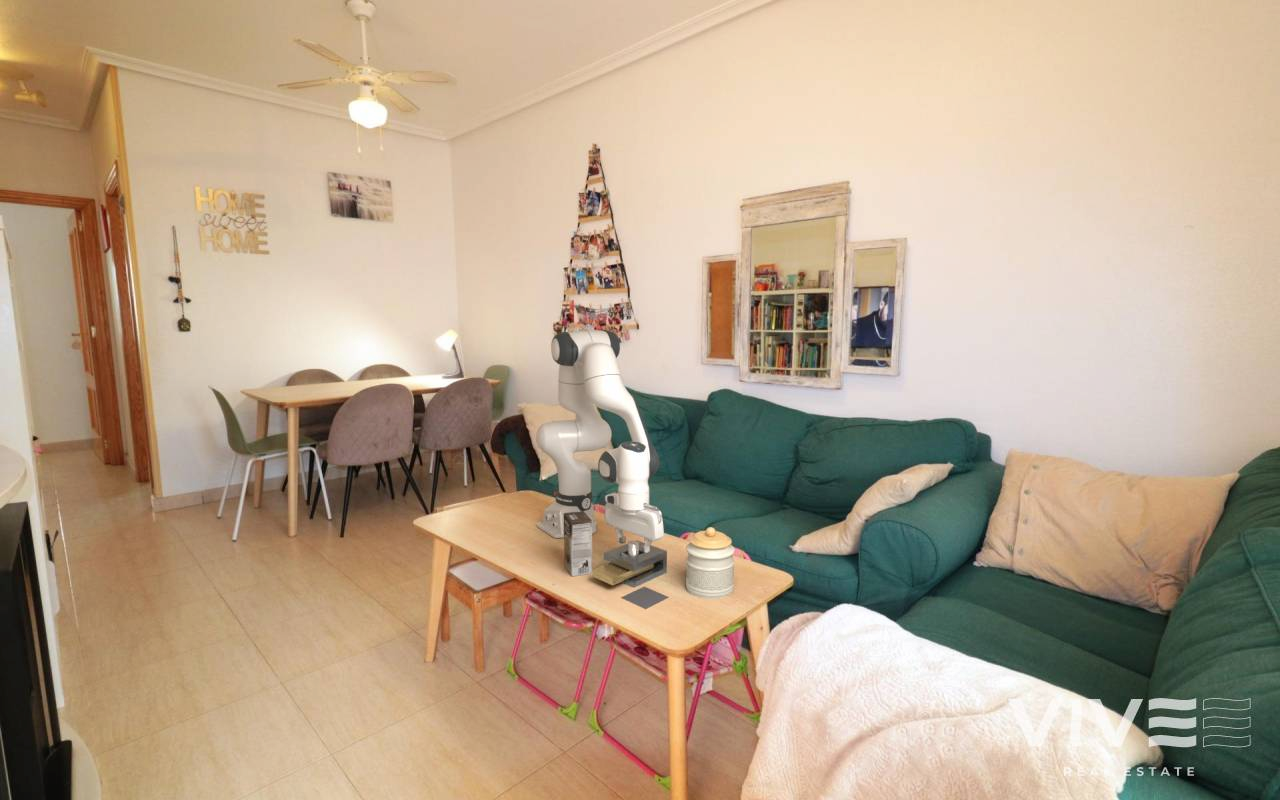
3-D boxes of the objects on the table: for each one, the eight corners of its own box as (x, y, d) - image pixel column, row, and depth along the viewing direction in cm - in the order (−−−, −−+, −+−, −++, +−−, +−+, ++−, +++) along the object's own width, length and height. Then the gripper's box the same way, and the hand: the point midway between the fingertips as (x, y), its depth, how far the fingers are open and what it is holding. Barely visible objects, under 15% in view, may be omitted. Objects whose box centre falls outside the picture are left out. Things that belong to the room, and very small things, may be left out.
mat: (620, 599, 154) (620, 597, 154) (644, 588, 160) (644, 586, 160) (645, 611, 148) (645, 609, 148) (669, 598, 154) (669, 597, 154)
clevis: (588, 582, 163) (587, 558, 162) (636, 562, 177) (636, 540, 176) (618, 596, 155) (617, 571, 154) (666, 574, 169) (666, 550, 168)
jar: (702, 575, 168) (703, 516, 166) (742, 588, 160) (744, 526, 158) (676, 591, 158) (676, 528, 156) (717, 606, 150) (718, 540, 148)
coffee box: (563, 564, 176) (562, 512, 173) (584, 561, 178) (584, 510, 176) (571, 577, 167) (570, 522, 165) (593, 573, 169) (592, 519, 167)
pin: (633, 572, 170) (633, 539, 169) (640, 576, 168) (640, 542, 167) (626, 576, 168) (625, 542, 166) (633, 579, 166) (633, 545, 164)
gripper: (668, 505, 160) (668, 554, 162) (616, 490, 174) (617, 535, 176) (653, 510, 155) (653, 560, 157) (601, 495, 170) (601, 540, 171)
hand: (633, 547), depth 167 cm, fingers open, 8 cm apart
